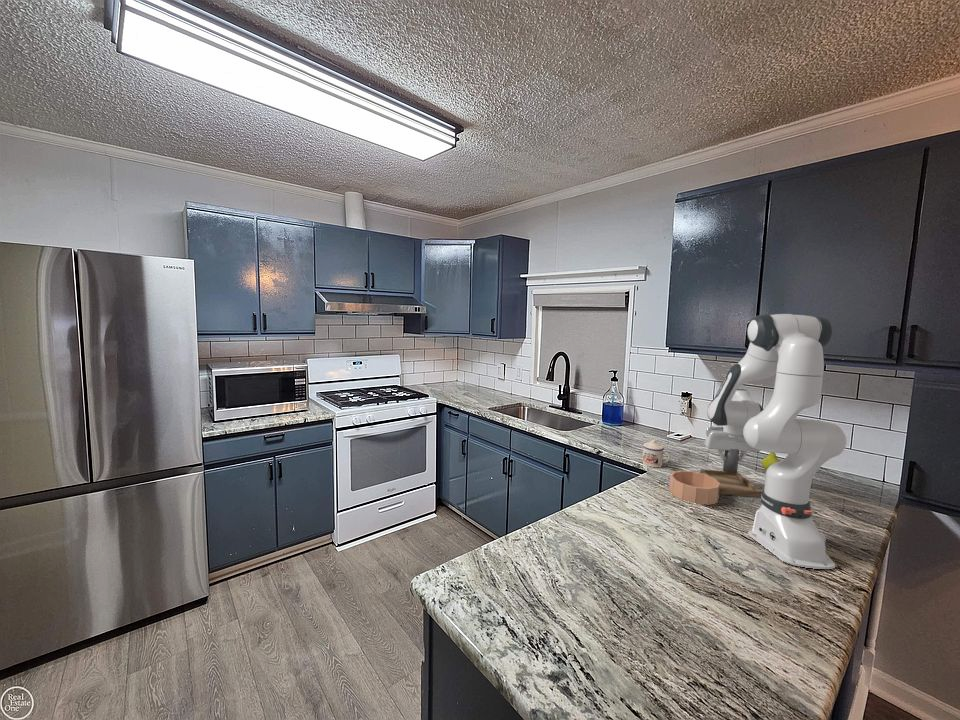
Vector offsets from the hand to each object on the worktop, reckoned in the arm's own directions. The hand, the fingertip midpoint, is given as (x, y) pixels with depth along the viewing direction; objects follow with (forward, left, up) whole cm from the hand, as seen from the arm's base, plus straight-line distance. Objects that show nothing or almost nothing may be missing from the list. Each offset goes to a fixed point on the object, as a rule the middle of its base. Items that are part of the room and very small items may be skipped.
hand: (731, 460), depth 164 cm
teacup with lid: (+18, +24, -11) cm, 32 cm away
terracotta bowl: (-12, +18, -11) cm, 24 cm away
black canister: (0, 0, -5) cm, 5 cm away
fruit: (+20, -26, -11) cm, 35 cm away
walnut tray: (0, 0, -11) cm, 11 cm away
